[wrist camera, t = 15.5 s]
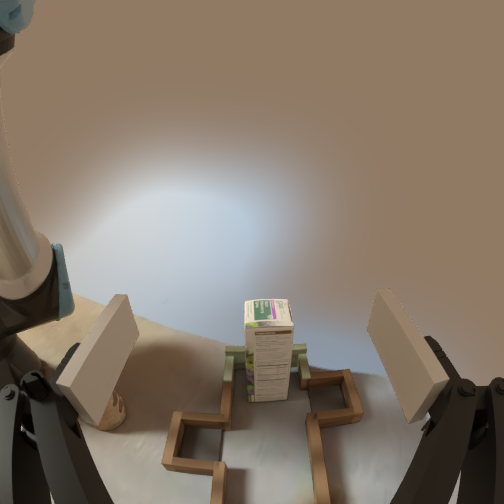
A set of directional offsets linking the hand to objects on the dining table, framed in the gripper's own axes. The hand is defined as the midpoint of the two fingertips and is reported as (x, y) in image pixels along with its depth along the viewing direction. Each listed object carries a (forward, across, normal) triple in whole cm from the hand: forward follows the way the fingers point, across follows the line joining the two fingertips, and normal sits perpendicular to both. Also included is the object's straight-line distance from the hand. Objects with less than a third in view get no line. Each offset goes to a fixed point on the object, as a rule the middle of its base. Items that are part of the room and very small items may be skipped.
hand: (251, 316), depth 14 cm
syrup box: (+15, +1, -26) cm, 30 cm away
